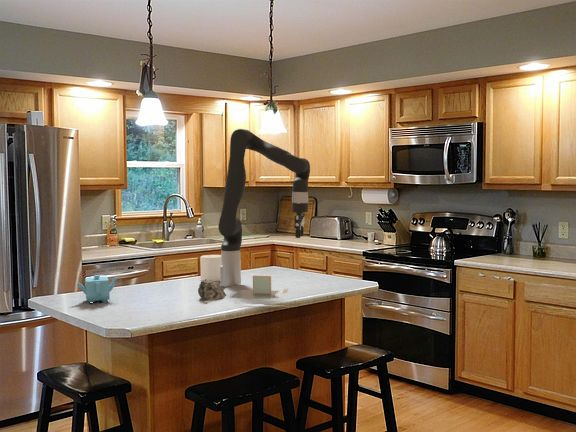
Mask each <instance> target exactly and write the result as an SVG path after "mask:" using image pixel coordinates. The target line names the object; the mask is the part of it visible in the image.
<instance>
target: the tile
mask: <svg viewBox="0 0 576 432" xmlns="http://www.w3.org/2000/svg"><path fill="white" fill-rule="evenodd" d="M252 290H253V294H271V291H272V275H255V274H254V275H252Z"/></svg>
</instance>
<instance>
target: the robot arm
mask: <svg viewBox="0 0 576 432" xmlns="http://www.w3.org/2000/svg"><path fill="white" fill-rule="evenodd" d="M246 150H249V151H253V152H257V153H258V154H260V155H262V156H264V157H265V158H267V159H268V160H269V161H271V162H273V163H276V164H278V165H280V166H282V167H284V168H286V169H287V170H289V171H291V172H292V173H295V177H294V180H293V181H292V195H291V212H292V213H296V214H295V215H294V224H293V225H294V227H293V228H294V230H295V238H296V239H300V238H301V237H303V236H304V231H305V230H304V228H305V225H306V223H305V221H306V219H305V218H306V214H305V213H308V212H309V179H310V174H311V164H310V162H309V160H308V159H306V158H302V157H298V156H295V155H294V154H292V153H291V152H289V151H287V150H286V149H283V148H281V147H279V146H277V145H274V144H271V142H270V143H269V142H267V141H265V140H264V139H262V138H260V137H259V136H257V135H256V134H255V133H253V132H252V131H250V130H248V129H244V128H237V129H235V130H233V132H232V133H231V135H230V144H229V159H228V164H227V165H228V166H227V172H226V180H225V187H224V194H223V203H222V207H221V208H222V209H221V213H220V217H219V221H218V231H219V232H218V233H220V234H221V235H222V237H223V242H222V243H221V246H220V252H221V253H220V255H221V263H222V266H221V267H220V282H219V283H220V285H221V286H222V287H223V288H224V287H225V288H229V287H231V286H241V285H242V265H241V263H242V261H241V257H242V255H241V253H242V252H241V247H242V242H243V225H242V222H241V220H240V219H239V218H238V217H237V214H238V207H239V205H240V202H241V200H242V198H243V196H244V194H245V188H246V182H247V173H246V166H245V155H246Z"/></svg>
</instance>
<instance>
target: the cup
mask: <svg viewBox="0 0 576 432" xmlns="http://www.w3.org/2000/svg"><path fill="white" fill-rule="evenodd" d="M199 259H200V266H199V267H200V281H203V280H205V279H207V280H208V281H209V280H212V281H215V282H219V281H220V267H221V266H222V263H221V254H203V255H201V256H200V257H199Z"/></svg>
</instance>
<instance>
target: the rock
mask: <svg viewBox="0 0 576 432" xmlns="http://www.w3.org/2000/svg"><path fill="white" fill-rule="evenodd" d="M197 292H198V295H199V297H200V298H202V300H203V301H208V300H215V299H216V300H218V299H224V298H225V297H227V294H226V291H225V289H224V287H223V286H221V282H219V281H212V280H209V281H208V280H207V279H205V280H203V281H202V280H200V284H199V286H198V289H197Z"/></svg>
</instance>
